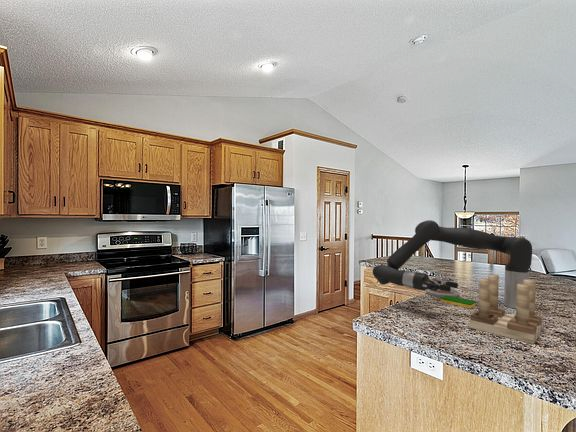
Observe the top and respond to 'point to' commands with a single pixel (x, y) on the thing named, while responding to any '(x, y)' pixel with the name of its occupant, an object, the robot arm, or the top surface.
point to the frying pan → (443, 293)
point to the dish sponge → (458, 301)
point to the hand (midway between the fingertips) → (454, 287)
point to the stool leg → (484, 297)
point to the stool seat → (511, 326)
